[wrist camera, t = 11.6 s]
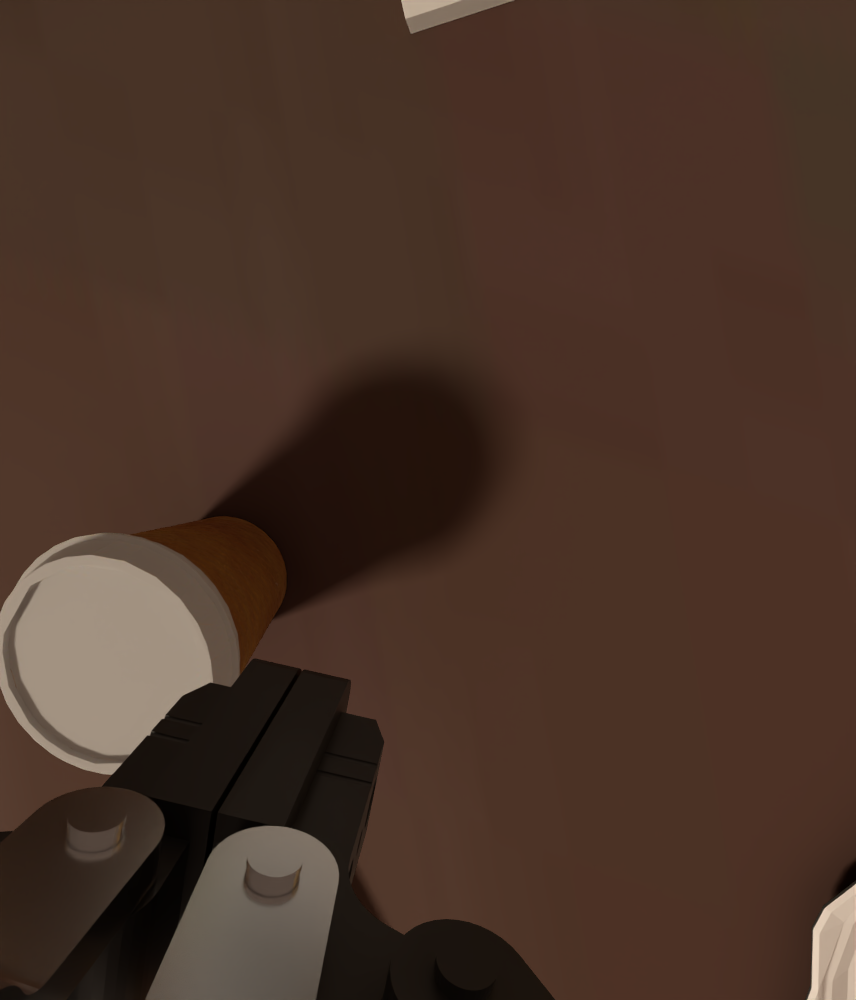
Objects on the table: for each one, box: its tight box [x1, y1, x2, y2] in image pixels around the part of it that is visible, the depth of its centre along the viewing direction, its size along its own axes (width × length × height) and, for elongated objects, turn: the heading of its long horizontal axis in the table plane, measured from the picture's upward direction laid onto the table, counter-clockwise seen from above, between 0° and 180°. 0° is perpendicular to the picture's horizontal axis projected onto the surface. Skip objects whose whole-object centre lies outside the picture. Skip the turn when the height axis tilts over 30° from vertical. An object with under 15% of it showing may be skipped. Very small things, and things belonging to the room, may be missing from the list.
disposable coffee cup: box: [0, 516, 287, 774], centre depth 33 cm, size 10×10×12 cm
